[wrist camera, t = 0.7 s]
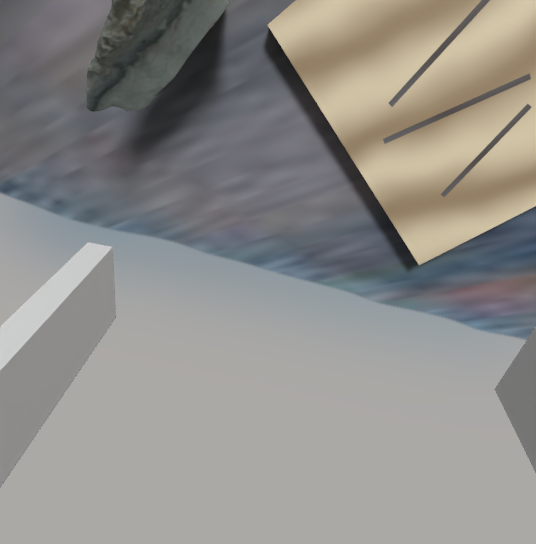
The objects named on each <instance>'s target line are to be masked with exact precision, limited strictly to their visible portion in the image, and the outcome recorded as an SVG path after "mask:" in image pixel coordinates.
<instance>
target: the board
mask: <svg viewBox="0 0 536 544" xmlns="http://www.w3.org/2000/svg"><path fill="white" fill-rule="evenodd" d="M268 27H269V28H270V30H271V31H272V33H273V35H274V36H275V38H276V39H277V41H278V43H279V44H280V46H281V47H282V49H283V50H284V52H285V54H286V55H287V57H288V58H289V60H290V62H291V63H292V65H293V66H294V68H295V70H296V71H297V73H298V74H299V76H300V77H301V79H302V81H303V82H304V84H305V85H306V87H307V89H308V90H309V92H310V93H311V95H312V96H313V98H314V100H315V101H316V103H317V104H318V106H319V108H320V109H321V111H322V112H323V114H324V115H325V117H326V119H327V120H328V122H329V123H330V125H331V127H332V128H333V130H334V131H335V133H336V134H337V136H338V138H339V139H340V141H341V142H342V144H343V146H344V147H345V149H346V150H347V152H348V154H349V155H350V157H351V158H352V160H353V161H354V163H355V165H356V166H357V168H358V169H359V171H360V173H361V174H362V176H363V177H364V179H365V180H366V182H367V184H368V185H369V187H370V188H371V190H372V192H373V193H374V195H375V196H376V198H377V199H378V201H379V203H380V204H381V206H382V207H383V209H384V211H385V212H386V214H387V215H388V217H389V219H390V220H391V222H392V223H393V225H394V226H395V228H396V230H397V231H398V233H399V234H400V236H401V238H402V239H403V241H404V242H405V244H406V245H407V247H408V249H409V250H410V252H411V253H412V255H413V257H414V258H415V260H416V261H417V263H418V264H419V265H420V264H422V263H424V262H426V261H428V260H430V259H432V258H434V257H436V256H438V255H440V254H442V253H444V252H446V251H448V250H450V249H452V248H454V247H456V246H458V245H460V244H462V243H464V242H466V241H468V240H470V239H472V238H474V237H476V236H478V235H480V234H482V233H484V232H486V231H487V230H489V229H491V228H493V227H495V226H497V225H499V224H501V223H503V222H505V221H507V220H509V219H511V218H513V217H515V216H517V215H519V214H521V213H523V212H525V211H527V210H529V209H531V208H533V207H535V206H536V0H296V1H294V2H293V3H292V4H291V5H290V6H289V7H288V8H286V9H285V10H284V11H283V12H282V13H281V14H280V15H278V16H277V17H276V18H275V19H274V20H273V21H272V22H270V23H269V24H268Z"/></svg>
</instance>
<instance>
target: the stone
mask: <svg viewBox="0 0 536 544" xmlns="http://www.w3.org/2000/svg"><path fill="white" fill-rule="evenodd" d="M228 4H229V2H228V0H112V7H111V11H110V13H109V15H108V17H107V20H106V23H105V26H104V29H103V31H102V33H101V36H100V38H99V40H98V45H97V51H96V55H95V58H94V59H92V61H91V64H90V66H89V69H88V72H87V89H86V93H87V108H88V109H89V110H90V111H93V112H94V111H100V110H104V109H106V108H108V107H111V106H116V107H120V108H123V109H124V110H126V111H131V110H133V111H139V110H142V109H143V108H144V107H146V106H148V105H149V104H150V103H151V102H152V101H153V100H154V98H155V96H156V95H157V94H158V92H159V91H160V90H162V89H163V88H164V87H165V86H166V85H167V84H168V83H169V82H170V81H171V80H172V79H173V78H174V77H175V76H176V75H177V73H178V72H179V70H180V68H181V67H182V66H183V64H184V63H185V61H186V60H187V58H188V57H189V56H190V54H191V53H192V52H193V50H194V49H195V48H196V46H197V45H198V44H199V42H200V41H201V40H202V38H203V37H204V36H205V34H206V33H207V32H208V30H209V29H210V28H212V27H213V25H214V24H215V23H216V21H217V20H218V19H219V18H220V16H221V15H222V13H223V12H224V11H225V9H226V8H227V6H228Z"/></svg>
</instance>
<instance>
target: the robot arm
mask: <svg viewBox="0 0 536 544" xmlns="http://www.w3.org/2000/svg"><path fill="white" fill-rule="evenodd" d="M115 318H116V305H115V284H114V264H113V247H109V246H105V245H99V244H94V243H89V242H88V243H87V244H86V245H85V246H84V247H83V248H82V249H81V250H80V251H79V252H77V254H75V255H74V256H73V257H72V258H71V259H70V260H69V261H68V262H67V263H66V264H65V265H64V266H63V267H62V268H61V269H60V270H59V271H58V272H57V273H56V274H55V275H54V276H52V278H50V279H49V280H48V281H47V282H46V283H45V284H44V285H43V286H42V287H41V288H40V289H39V290H38V291H37V292H36V293H35V294H34V295H33V296H32V297H31V298H30V299H29V300H27V301H26V302H25V303H24V304H23V305H22V306H21V307H20V308H19V309H18V310H17V311H16V312H15V313H14V314H13V315H12V316H11V317H10V318H9V319H8V320H7V321H6V322H5V323H4V324H2V325H1V327H0V487H1V486H2V484H3V483H4V481H5V480H6V478H7V477H8V476H9V474H10V473H11V471H12V470H13V468H14V466H15V465H16V463H17V462H18V461H19V459H20V458H21V456H22V455H23V453H24V452H25V451H26V449H27V448H28V446H29V445H30V443H31V442H32V440H33V439H34V437H35V436H36V434H37V433H38V431H39V430H40V429H41V427H42V426H43V424H44V423H45V421H46V420H47V418H48V417H49V415H50V414H51V412H52V411H53V409H54V408H55V406H56V405H57V403H58V402H59V400H60V399H61V398H62V396H63V395H64V393H65V392H66V390H67V389H68V387H69V386H70V384H71V383H72V381H73V380H74V378H75V377H76V376H77V374H78V372H79V371H80V370H81V368H82V367H83V365H84V363H85V362H86V361H87V359H88V358H89V356H90V355H91V353H92V352H93V350H94V349H95V347H96V346H97V345H98V343H99V342H100V340H101V339H102V337H103V336H104V334H105V333H106V331H107V330H108V328H109V327H110V326H111V324H112V323H113V321H114V319H115ZM495 391H496V393H497V395H498V397H499V399H500V401H501V403H502V405H503V407H504V409H505V411H506V413H507V415H508V417H509V419H510V421H511V423H512V425H513V427H514V429H515V431H516V433H517V435H518V437H519V439H520V442H521V444H522V446H523V448H524V449H525V451H526V454H527V456H528V458H529V460H530V462H531V464H532V466H533V468H534V470H535V472H536V327H535V329H534V330H533V332H532V333H531V335H530V336H529V338H528V339H527V341H526V342H525V344H524V345H523V347H522V348H521V350H520V352H519V353H518V355H517V356H516V358H515V359H514V361H513V362H512V364H511V365H510V367H509V368H508V370H507V371H506V373H505V374H504V376H503V377H502V379H501V380H500V382H499V383H498V385H497V386H496V388H495Z"/></svg>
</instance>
